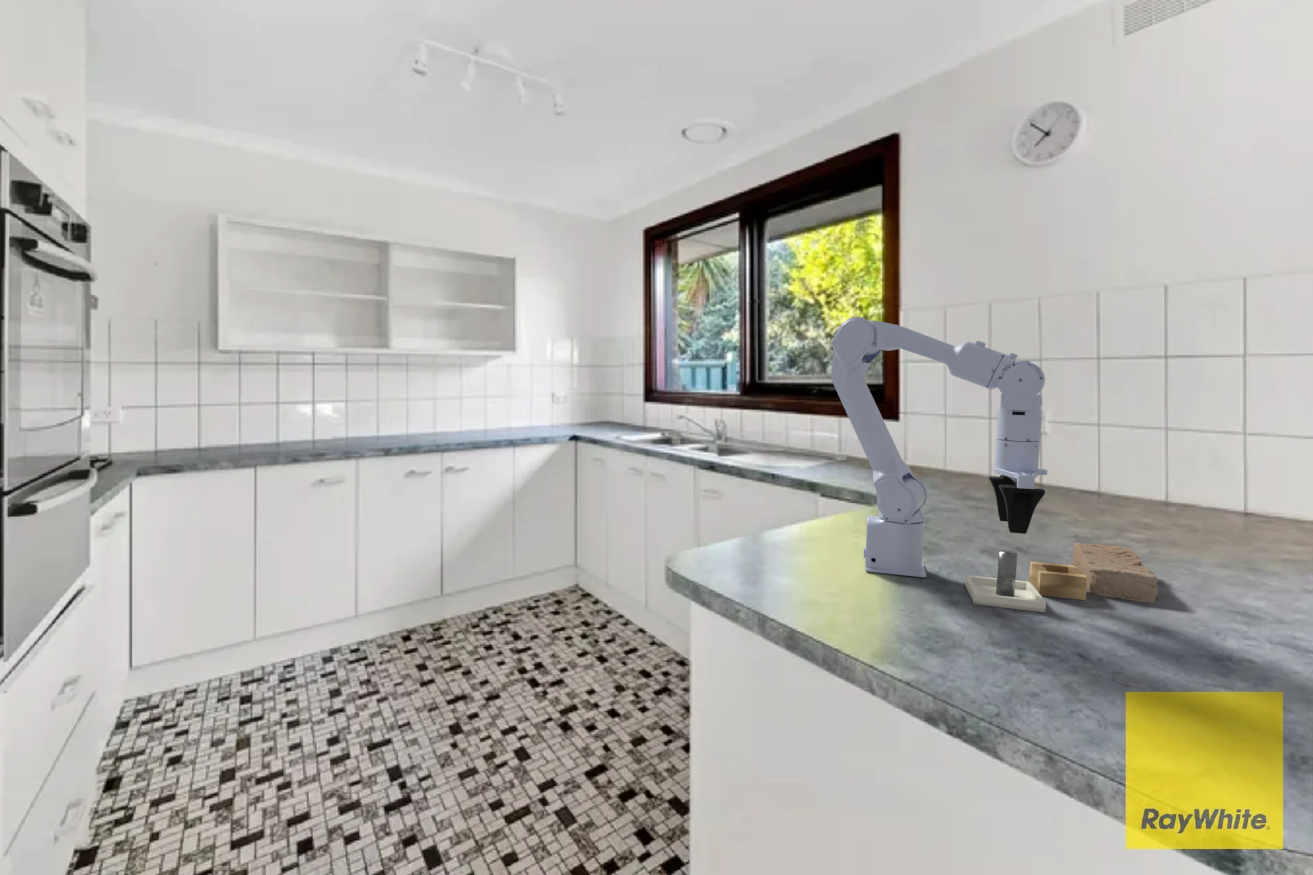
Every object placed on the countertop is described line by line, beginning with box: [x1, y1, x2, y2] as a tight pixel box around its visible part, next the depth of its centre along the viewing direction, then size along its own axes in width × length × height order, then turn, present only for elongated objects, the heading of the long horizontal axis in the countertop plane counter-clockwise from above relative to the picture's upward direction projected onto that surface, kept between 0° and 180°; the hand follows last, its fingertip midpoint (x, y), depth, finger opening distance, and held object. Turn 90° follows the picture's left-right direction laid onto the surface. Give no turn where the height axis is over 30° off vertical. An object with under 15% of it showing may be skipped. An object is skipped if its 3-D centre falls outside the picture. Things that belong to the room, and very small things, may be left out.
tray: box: [963, 574, 1047, 613], centre depth 88 cm, size 9×9×2 cm
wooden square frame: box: [1028, 561, 1088, 601], centre depth 91 cm, size 6×6×4 cm
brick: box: [1071, 542, 1159, 604], centre depth 95 cm, size 17×8×5 cm, turn 153°
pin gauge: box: [996, 549, 1018, 597], centre depth 88 cm, size 2×2×6 cm
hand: (1012, 526), depth 91 cm, fingers open, 7 cm apart
